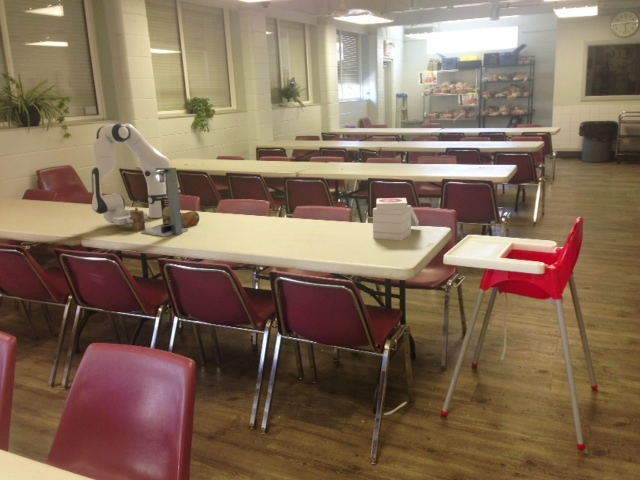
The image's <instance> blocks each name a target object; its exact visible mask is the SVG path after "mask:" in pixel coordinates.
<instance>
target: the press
mask: <svg viewBox="0 0 640 480" xmlns="http://www.w3.org/2000/svg"><path fill="white" fill-rule="evenodd" d="M158 173H159V180H160V183H162V182H165V183H166V192H167V194H168V201H169V211H170V221H171V225H163V224H162V225H158V226H155V227H150V228H145V230H141V231H140V232H141V234H145V233H146V234H147V235H153V236H156V235H157V237H163V238H166V237H170V236H179V235H183V233H186V232H189V227H186V228H182V224H181V214H180V211H181V205H180V196H179V195H180V194H179V185H178V174H177V167H173V166H170V167H157V168H156V171H151V172H150V171H145V176H150V175H152V174H158ZM145 176H144V177H145ZM185 231H186V232H185Z"/></svg>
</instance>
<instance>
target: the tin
mask: <svg viewBox="0 0 640 480" xmlns="http://www.w3.org/2000/svg"><path fill="white" fill-rule="evenodd" d="M199 221H200V215H199V212H197V211H196V210H190V211H186V212H183V213H181V224H182V227H183V228H184V227H186V228H189V227H188V226H190V227H194V226H196V225H198V223H199ZM193 225H194V226H193Z"/></svg>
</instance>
